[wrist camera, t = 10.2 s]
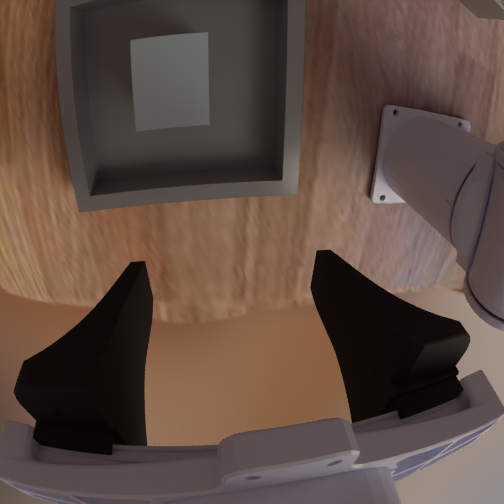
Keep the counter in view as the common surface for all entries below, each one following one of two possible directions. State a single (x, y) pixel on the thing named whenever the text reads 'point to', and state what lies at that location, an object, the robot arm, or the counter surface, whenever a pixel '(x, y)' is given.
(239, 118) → the dark grey square tray
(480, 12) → the lighter
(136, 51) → the tall grey cuboid
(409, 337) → the robot arm
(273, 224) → the counter surface
